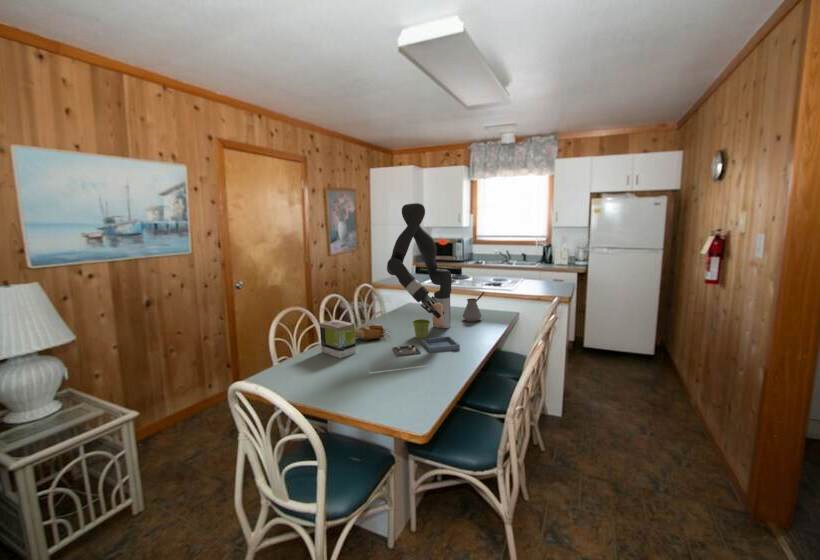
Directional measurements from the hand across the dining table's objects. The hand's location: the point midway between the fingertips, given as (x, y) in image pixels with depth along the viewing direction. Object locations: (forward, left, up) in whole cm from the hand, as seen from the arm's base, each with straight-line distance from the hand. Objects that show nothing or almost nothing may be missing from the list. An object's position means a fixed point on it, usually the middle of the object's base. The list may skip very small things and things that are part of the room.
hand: (441, 315), depth 189 cm
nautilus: (-24, -30, -16) cm, 42 cm away
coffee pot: (-45, +37, -16) cm, 60 cm away
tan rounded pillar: (-1, -1, -5) cm, 5 cm away
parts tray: (+1, -18, -16) cm, 24 cm away
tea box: (-9, -49, -16) cm, 52 cm away
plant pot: (-19, -5, -16) cm, 25 cm away
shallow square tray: (-1, -1, -16) cm, 16 cm away
